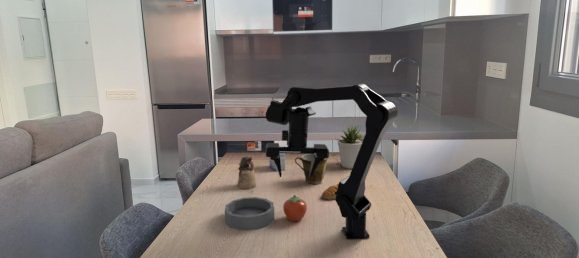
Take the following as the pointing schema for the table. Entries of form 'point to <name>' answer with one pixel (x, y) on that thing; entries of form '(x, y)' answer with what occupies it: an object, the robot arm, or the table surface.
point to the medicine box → (282, 160)
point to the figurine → (246, 174)
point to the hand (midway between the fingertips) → (295, 177)
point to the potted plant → (349, 147)
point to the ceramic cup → (318, 172)
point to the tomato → (295, 208)
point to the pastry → (330, 192)
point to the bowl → (249, 213)
